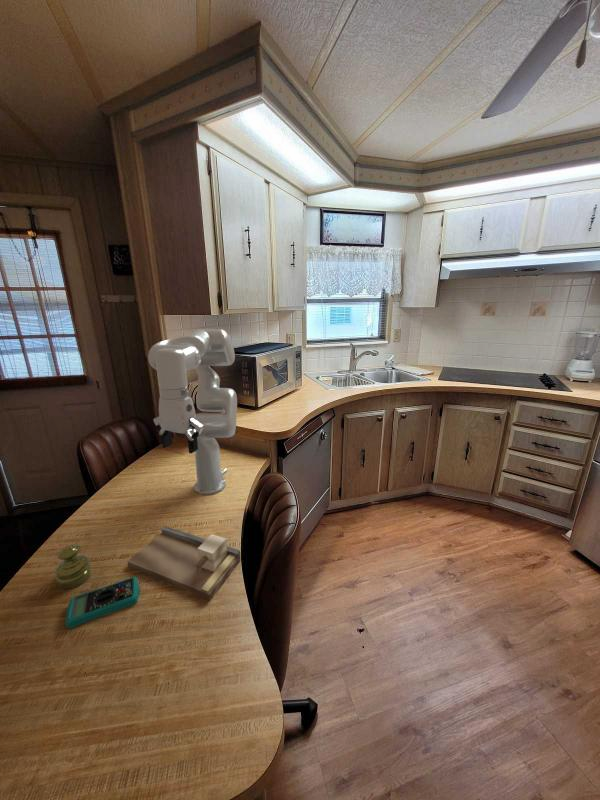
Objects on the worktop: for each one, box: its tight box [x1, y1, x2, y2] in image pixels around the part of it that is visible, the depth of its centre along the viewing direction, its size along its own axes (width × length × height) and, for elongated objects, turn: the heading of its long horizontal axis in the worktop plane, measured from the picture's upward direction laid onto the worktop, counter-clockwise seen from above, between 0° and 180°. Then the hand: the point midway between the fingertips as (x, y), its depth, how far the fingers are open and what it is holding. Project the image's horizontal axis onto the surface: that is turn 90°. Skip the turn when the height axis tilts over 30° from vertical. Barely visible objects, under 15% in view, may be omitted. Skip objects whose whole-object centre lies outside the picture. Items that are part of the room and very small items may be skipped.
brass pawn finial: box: [54, 543, 92, 590], centre depth 81 cm, size 7×7×10 cm
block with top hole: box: [196, 534, 228, 572], centre depth 83 cm, size 9×5×6 cm, turn 159°
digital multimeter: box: [65, 576, 140, 630], centre depth 75 cm, size 7×15×3 cm, turn 118°
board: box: [126, 525, 242, 601], centre depth 87 cm, size 14×28×4 cm, turn 68°
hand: (180, 448), depth 90 cm, fingers open, 9 cm apart
